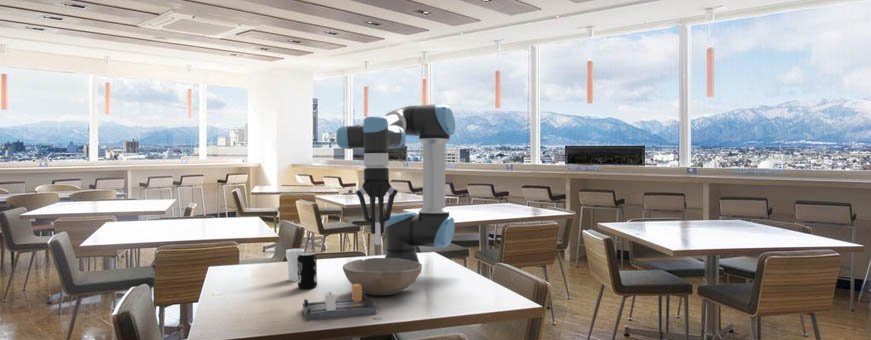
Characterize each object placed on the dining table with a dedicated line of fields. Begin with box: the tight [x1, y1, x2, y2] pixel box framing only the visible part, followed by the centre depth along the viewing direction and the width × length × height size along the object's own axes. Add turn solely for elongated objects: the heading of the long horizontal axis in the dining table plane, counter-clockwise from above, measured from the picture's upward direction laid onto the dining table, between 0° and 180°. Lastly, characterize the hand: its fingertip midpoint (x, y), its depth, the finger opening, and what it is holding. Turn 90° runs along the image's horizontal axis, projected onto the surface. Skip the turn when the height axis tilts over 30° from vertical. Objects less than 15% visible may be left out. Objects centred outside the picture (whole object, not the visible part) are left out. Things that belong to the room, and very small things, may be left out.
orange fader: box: [351, 284, 363, 301], centre depth 181 cm, size 2×4×5 cm
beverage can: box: [297, 251, 318, 290], centre depth 208 cm, size 7×7×12 cm
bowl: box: [342, 257, 423, 296], centre depth 198 cm, size 26×26×10 cm
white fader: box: [324, 291, 336, 311], centre depth 171 cm, size 2×4×5 cm
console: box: [302, 294, 378, 321], centre depth 176 cm, size 20×12×3 cm, turn 107°
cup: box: [285, 248, 305, 282], centre depth 222 cm, size 7×7×11 cm
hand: (377, 244), depth 183 cm, fingers closed
